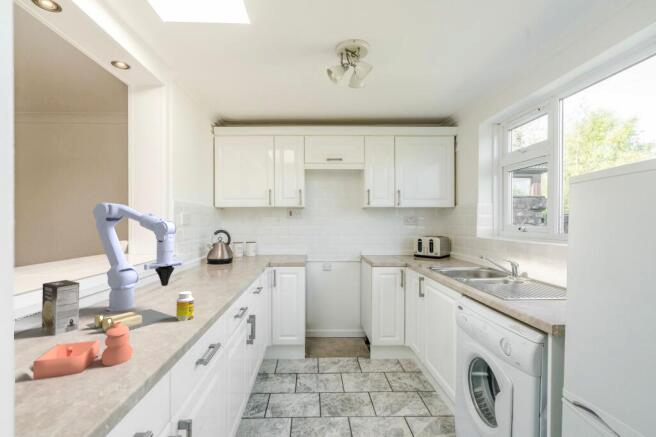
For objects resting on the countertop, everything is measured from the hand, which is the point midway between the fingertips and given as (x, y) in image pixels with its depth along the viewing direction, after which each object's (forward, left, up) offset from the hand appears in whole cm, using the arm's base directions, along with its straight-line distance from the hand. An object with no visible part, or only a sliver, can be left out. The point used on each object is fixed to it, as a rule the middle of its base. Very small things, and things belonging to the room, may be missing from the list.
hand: (164, 285), depth 115 cm
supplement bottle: (+17, -2, -11) cm, 20 cm away
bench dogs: (+5, -22, -10) cm, 25 cm away
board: (+4, -13, -10) cm, 17 cm away
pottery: (+26, -33, -11) cm, 44 cm away
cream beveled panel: (+5, -16, -10) cm, 20 cm away
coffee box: (-7, -30, -11) cm, 32 cm away
